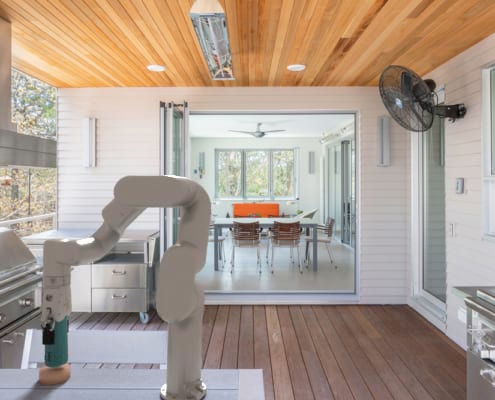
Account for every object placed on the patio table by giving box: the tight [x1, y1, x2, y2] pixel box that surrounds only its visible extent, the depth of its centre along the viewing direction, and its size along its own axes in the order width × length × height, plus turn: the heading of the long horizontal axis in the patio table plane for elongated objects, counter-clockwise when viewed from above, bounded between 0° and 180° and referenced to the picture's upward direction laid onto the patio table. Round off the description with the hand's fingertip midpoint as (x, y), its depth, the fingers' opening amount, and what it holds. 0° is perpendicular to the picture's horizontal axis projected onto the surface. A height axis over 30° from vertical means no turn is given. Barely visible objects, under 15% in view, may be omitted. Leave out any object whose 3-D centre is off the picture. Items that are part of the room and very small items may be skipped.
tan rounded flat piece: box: [38, 362, 72, 386], centre depth 119 cm, size 8×8×3 cm
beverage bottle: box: [43, 315, 69, 367], centre depth 119 cm, size 6×7×20 cm
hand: (55, 338), depth 119 cm, fingers open, 9 cm apart
